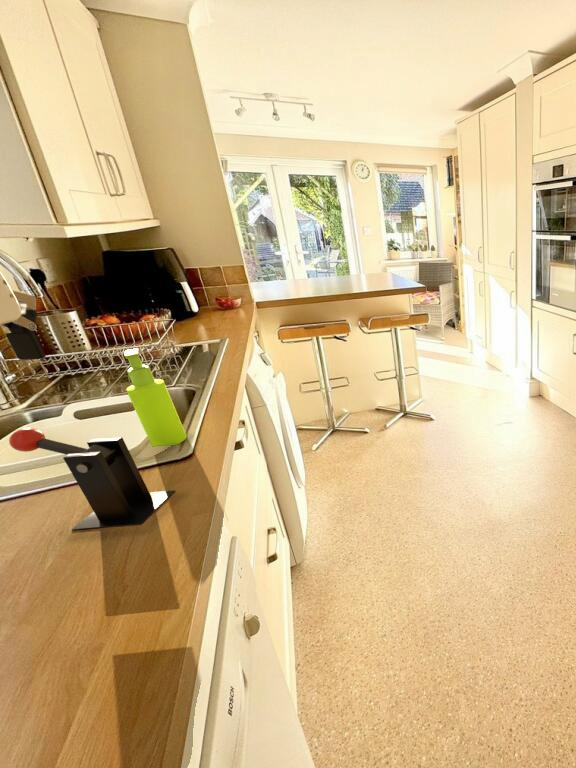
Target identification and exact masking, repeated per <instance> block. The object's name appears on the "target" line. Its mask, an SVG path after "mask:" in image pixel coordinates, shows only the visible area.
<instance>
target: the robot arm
mask: <svg viewBox="0 0 576 768" xmlns="http://www.w3.org/2000/svg"><path fill="white" fill-rule="evenodd" d="M36 310H37V297H36V296H34V295H32V294H28V293H24V292H22V291H21V292H20V291H18V290H12V288H11V286H10V285H9V283H8V281H7V280H6V278H5V277H4V275H3V273H2V272H1V271H0V327H2V328H4V329H5V330H7V331H8V332H5V333H4V334H5V336H6V339H7V341H8V342H9V344H10V346H11V348H12V350H13V352H14V353H15V356H16V357H17V359H18V360H24V361H25V360H26V361H27V360H41V359H44V358H46V357H47V356H46V353H45V352H44V350H43V348H42V345H41V343H40V342H39V339H38V338H37V336H36V334H35V331H36V330H37V327H38V326H37V324H36V320H37V318H38V312H37V311H36Z"/></svg>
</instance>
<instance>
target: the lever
mask: <svg viewBox="0 0 576 768" xmlns="http://www.w3.org/2000/svg"><path fill="white" fill-rule="evenodd" d="M8 443H9V446H10V447H11V448H12V449H14V450H15V451H18V452H26V453H27V452H33V451H36V450H38V449H42V450H45V451H49V452H55V453H58V454H63V455H65V456H67V455H68V454H75V453H88V452H101V453H102V455H103V456H104V458H105V460H106V462H107V464H108V466H110V465H111V464H112V463H114V462H115V451H116V450H115V449H111V448H107V447H103V446H99V445H93V446H91V447H90V448H89V447H88V448H84V447H80V446H77V445H73V444H68V443H65V442H61V441H56V440H52V439H49V438H46V435H45V434H44V432H43V431H42V430H40V429H37V428H33V427H24V428H21V429H18V430H16V431H14V432H12V434H11V435H10V437H9V439H8Z"/></svg>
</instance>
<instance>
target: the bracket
mask: <svg viewBox="0 0 576 768" xmlns="http://www.w3.org/2000/svg"><path fill="white" fill-rule="evenodd" d="M86 444H87V446H88V448H90V447H91V446H93V445H99V446H103V447H107V448H111V449H115V450H116V451H115V462H114V463H112V464H111V465H110V466H108V464H107V462H106V460H105V458H104V456H103V455H102V453H101V452H88V453H75V454H68V455H65V456H63V457H62V458H63V459H62V460H64V462H65V464H66V466H67V467H68V470H69V471H70V473H71V474H72V476H73V478H74V480H75V482H76V483H77V486H78V487H79V488H80V490H81V492H82V493H83V495H84V497H85V499H86V501H87V503H88V504H89V506H90V508H91V509H92V512H91V513H90V514H88V515H87V516H86V517H85V518H84V519H82V520H80V522H79V523H77V525H75V526H73V528H72V529H71V531H72V532H74V531H76V532H77V531H85V530H86V531H87V530H97V529H106V528H119V527H130V526H131V527H133V526H140V525H141V526H142V525H143V524H145V522H146V521H147V520H148V519H149V518H151V516H152V515H153V514H154V513H156V511H158V510H159V508H161V506H162V505H163V504H164V503H166V501H168V500H169V499H170V498H171V496H173V495H174V494H175V493H176V490H175V489H173V490H161V491H149V489H148V487H147V485H146V483H145V481H144V478H143V477H142V474H141V473H140V471H139V469H138V467H137V465H136V462H135V460H134V458H133V456H132V455H131V452H130V450H129V448H128V446H127V444H126V442H125V440H124V438H123V437H122V436H121V437H120V436H119V437H107V438H106V437H105V438H92V439H91V440H89V441H87V442H86Z"/></svg>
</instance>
